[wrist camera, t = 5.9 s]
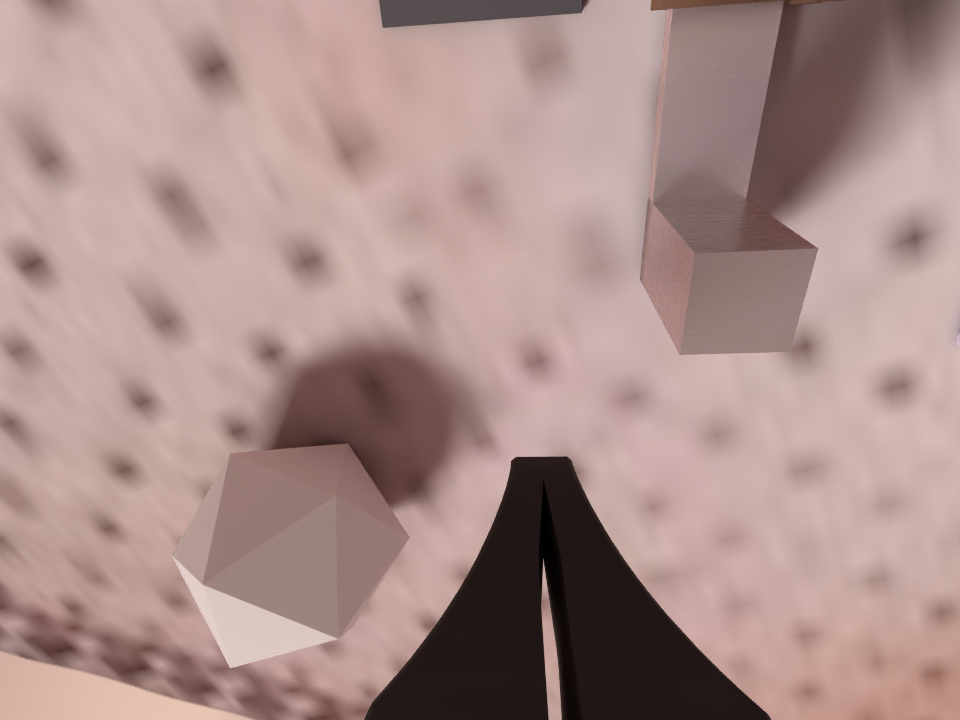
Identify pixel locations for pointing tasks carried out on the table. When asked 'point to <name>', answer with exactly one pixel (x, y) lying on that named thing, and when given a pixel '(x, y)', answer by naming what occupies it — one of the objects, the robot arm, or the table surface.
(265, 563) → the die
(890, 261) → the table surface
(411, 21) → the dark grey plate
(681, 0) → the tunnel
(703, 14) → the hook
